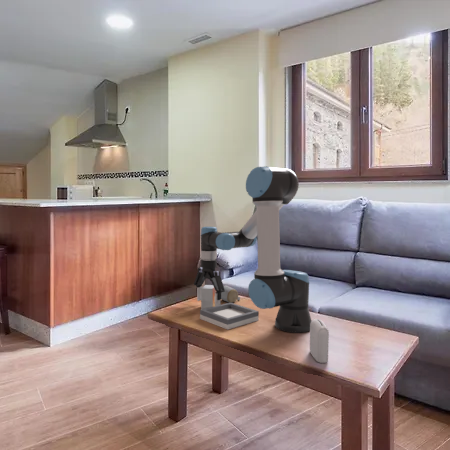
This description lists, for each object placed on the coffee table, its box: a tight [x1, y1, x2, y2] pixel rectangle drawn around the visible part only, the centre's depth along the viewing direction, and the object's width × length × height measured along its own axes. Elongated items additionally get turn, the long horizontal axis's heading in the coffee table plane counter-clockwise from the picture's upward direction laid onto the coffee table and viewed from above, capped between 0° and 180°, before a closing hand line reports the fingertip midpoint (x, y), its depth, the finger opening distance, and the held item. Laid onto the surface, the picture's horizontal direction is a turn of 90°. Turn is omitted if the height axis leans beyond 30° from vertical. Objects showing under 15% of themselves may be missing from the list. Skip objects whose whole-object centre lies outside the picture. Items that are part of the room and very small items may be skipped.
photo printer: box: [309, 318, 330, 364], centre depth 128 cm, size 10×4×12 cm, turn 3°
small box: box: [200, 284, 216, 310], centre depth 183 cm, size 8×6×10 cm
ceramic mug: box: [221, 284, 241, 303], centre depth 196 cm, size 11×8×8 cm
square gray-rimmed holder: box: [199, 302, 260, 330], centre depth 166 cm, size 18×18×4 cm
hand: (208, 303), depth 183 cm, fingers open, 13 cm apart
